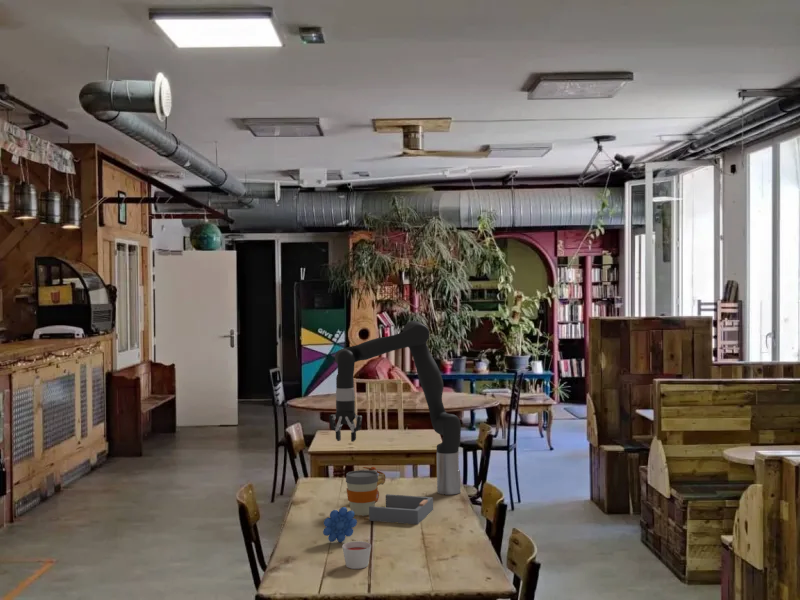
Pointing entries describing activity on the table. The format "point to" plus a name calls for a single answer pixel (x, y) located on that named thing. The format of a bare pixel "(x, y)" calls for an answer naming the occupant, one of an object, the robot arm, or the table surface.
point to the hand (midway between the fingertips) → (346, 440)
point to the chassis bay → (402, 509)
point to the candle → (356, 554)
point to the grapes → (339, 525)
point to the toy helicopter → (380, 479)
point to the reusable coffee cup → (361, 490)
